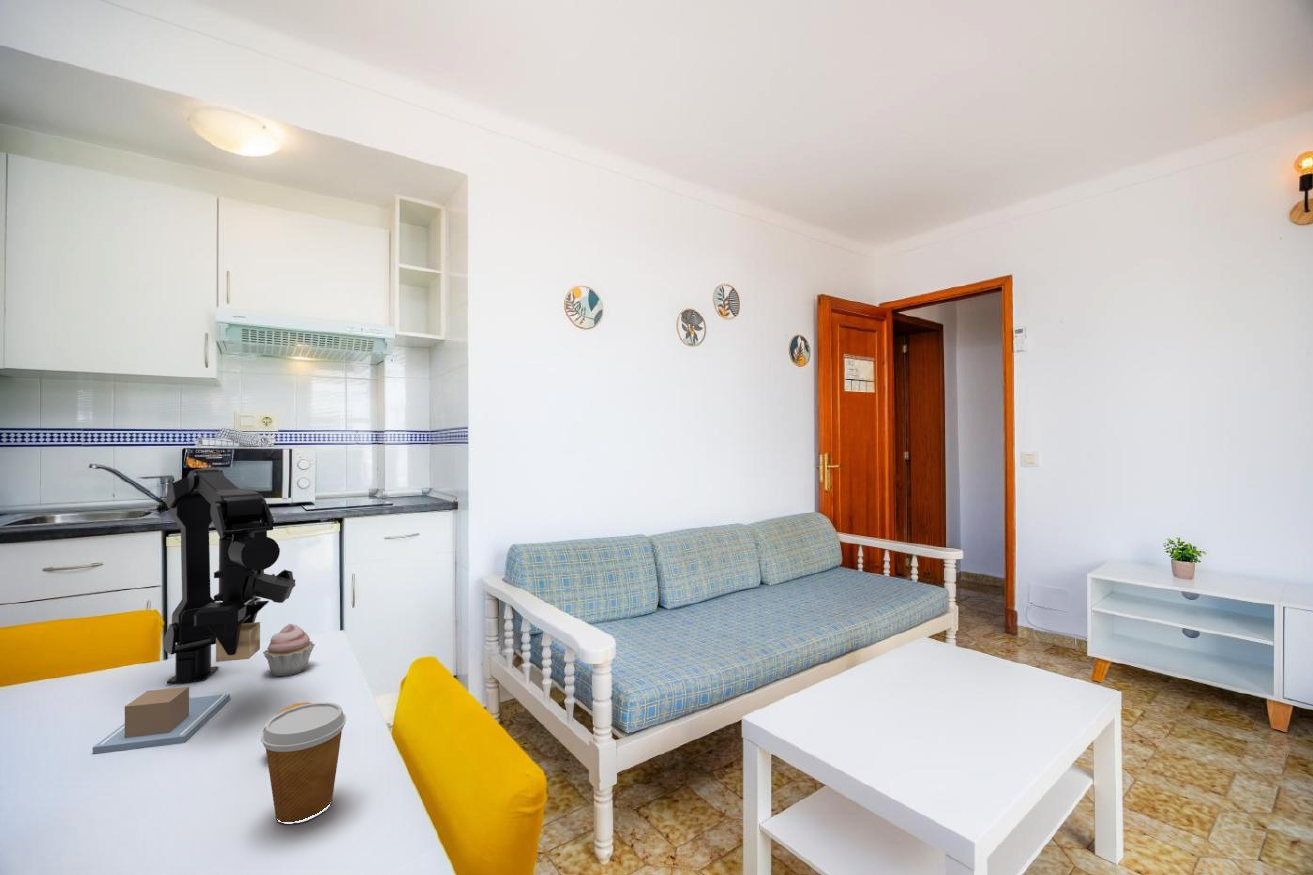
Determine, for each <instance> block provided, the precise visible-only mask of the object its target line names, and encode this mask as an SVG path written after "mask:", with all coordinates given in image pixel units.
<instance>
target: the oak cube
mask: <svg viewBox="0 0 1313 875" xmlns="http://www.w3.org/2000/svg"><path fill="white" fill-rule="evenodd" d="M260 649H261V622H260V621H257V622H254V623H242V624H241V629H240V634H239V640H238V646H237V650H236V654H235V655H227V653H226V652H225V650H224V648H223V647H222V645H221V644H220V642H219V641H218V639H217V638H216V644H215V662H216V663H220V662H231V661H239V660H242V661H243V660H249V659H251V658H252V657H253V656H254V655H255V654H256V653H257V652H258V651H259V650H260Z"/></svg>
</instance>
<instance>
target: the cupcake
mask: <svg viewBox="0 0 1313 875" xmlns="http://www.w3.org/2000/svg"><path fill="white" fill-rule="evenodd" d="M315 646H316V643H313V641H311V638H310V636H309V635H308V633H307V632H305V630H303V629H302V628H301V627H300V626H299V625H297V624H293V623H288V624H287V625H285V626H284V627H283V628H282V629H281V630H280V631H279V632H278V633H276V634H275V633H274V634H273V635H272V636H271V638H270V642H269V644H268V646H267V647H266V650H263V652H262V653H263V655H264V657H265V659H266V660H267V663H268V666H269V667H268V668H269V671H270V674H271V675H272V676H275V677H285V676H286V677H287V676H291V675H295V674H299V673H301V672H303V671H304V670H306V669H305V668H307V667H308V664H309V660H310V657H311V655H312V654H311V653H312V651H313V650H314V648H315Z"/></svg>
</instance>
